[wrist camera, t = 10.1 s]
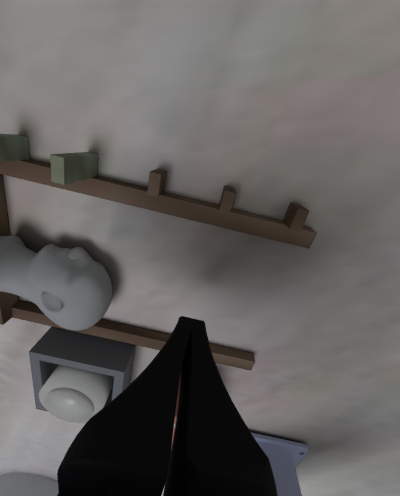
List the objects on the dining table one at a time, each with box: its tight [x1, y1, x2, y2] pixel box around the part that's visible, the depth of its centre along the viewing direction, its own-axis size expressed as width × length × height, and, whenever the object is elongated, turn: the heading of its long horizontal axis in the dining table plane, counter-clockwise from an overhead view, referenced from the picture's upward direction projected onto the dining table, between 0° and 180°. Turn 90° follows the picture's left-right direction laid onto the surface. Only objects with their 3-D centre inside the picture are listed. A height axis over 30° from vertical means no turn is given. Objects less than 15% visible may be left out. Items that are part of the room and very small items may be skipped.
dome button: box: [39, 365, 114, 423], centre depth 19 cm, size 5×5×3 cm
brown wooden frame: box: [0, 134, 317, 370], centre depth 14 cm, size 13×20×3 cm, turn 77°
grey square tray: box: [29, 327, 135, 411], centre depth 19 cm, size 7×7×2 cm
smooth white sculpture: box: [0, 235, 112, 330], centre depth 15 cm, size 4×8×5 cm
